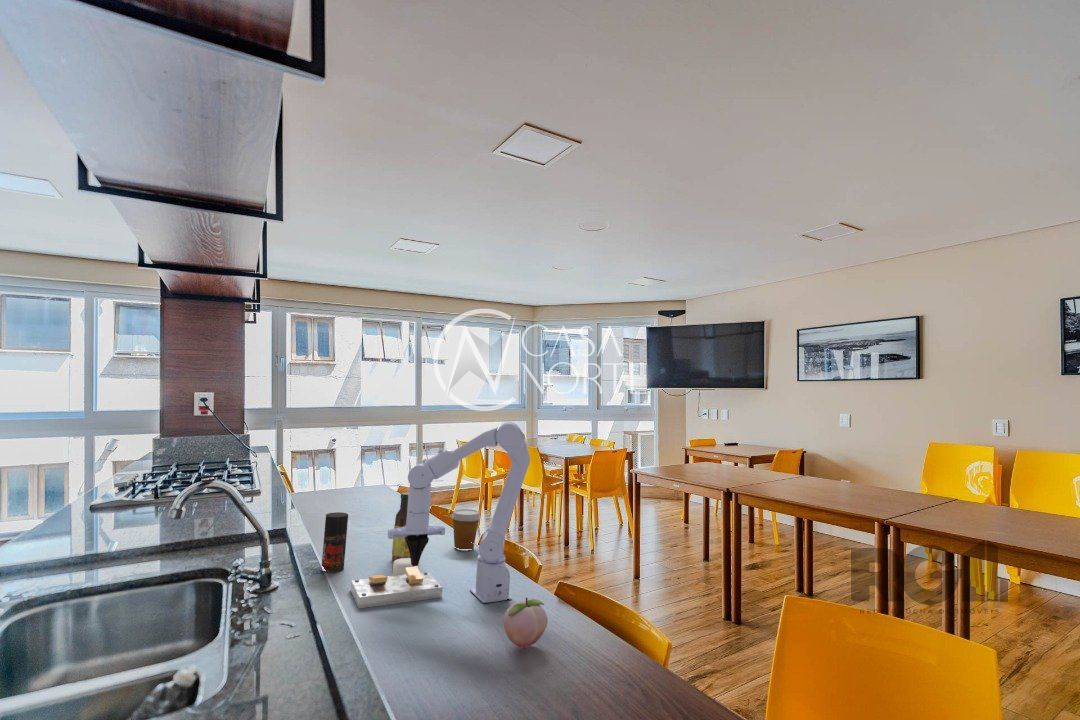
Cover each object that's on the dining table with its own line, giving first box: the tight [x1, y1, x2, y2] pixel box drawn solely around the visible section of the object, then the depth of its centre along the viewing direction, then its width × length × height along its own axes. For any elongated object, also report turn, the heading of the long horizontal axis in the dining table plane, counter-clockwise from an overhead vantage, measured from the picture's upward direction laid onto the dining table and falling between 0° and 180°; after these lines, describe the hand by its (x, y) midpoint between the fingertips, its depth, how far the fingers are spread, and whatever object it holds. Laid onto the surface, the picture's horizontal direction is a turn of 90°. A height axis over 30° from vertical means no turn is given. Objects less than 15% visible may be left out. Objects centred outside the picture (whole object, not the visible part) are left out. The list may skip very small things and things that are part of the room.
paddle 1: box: [368, 574, 387, 583], centre depth 130 cm, size 6×3×1 cm, turn 30°
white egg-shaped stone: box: [392, 558, 421, 576], centre depth 144 cm, size 7×7×4 cm
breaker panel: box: [350, 571, 443, 609], centre depth 131 cm, size 12×20×3 cm, turn 119°
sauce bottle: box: [391, 492, 410, 562], centre depth 158 cm, size 6×6×20 cm
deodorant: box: [321, 511, 349, 574], centre depth 147 cm, size 6×6×15 cm
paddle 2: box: [405, 566, 423, 584], centre depth 134 cm, size 6×3×1 cm, turn 28°
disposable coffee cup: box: [451, 508, 481, 550], centre depth 174 cm, size 10×10×12 cm
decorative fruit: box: [503, 597, 548, 649], centre depth 107 cm, size 9×8×10 cm
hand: (414, 564), depth 135 cm, fingers closed
